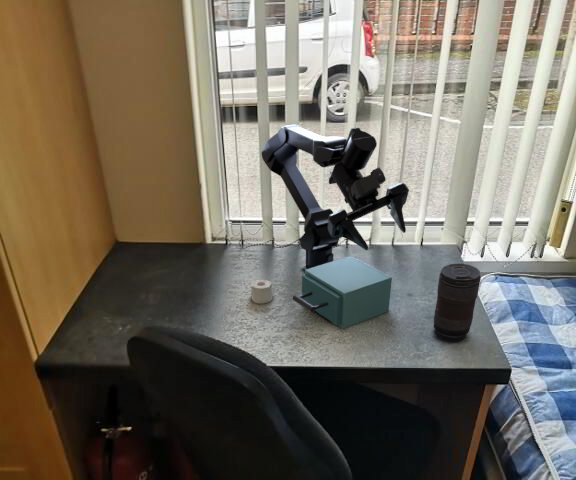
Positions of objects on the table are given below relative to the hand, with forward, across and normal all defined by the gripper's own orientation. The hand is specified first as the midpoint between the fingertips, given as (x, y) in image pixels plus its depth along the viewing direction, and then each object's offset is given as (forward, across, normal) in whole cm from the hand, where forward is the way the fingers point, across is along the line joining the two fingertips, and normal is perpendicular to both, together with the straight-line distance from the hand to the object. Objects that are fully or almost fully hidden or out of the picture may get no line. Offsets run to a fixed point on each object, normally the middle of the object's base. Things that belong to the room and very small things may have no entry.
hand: (386, 240), depth 124 cm
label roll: (-7, -28, +16) cm, 33 cm away
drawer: (+5, -15, +11) cm, 20 cm away
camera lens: (+24, +3, +6) cm, 25 cm away
